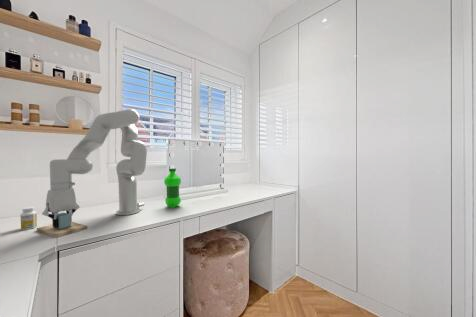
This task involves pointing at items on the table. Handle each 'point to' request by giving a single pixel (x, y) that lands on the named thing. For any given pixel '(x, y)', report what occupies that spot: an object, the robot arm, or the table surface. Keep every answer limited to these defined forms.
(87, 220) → the table surface
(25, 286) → the table surface
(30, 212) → the supplement bottle
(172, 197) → the plastic bottle
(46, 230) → the board
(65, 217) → the block
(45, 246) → the table surface
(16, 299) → the table surface
